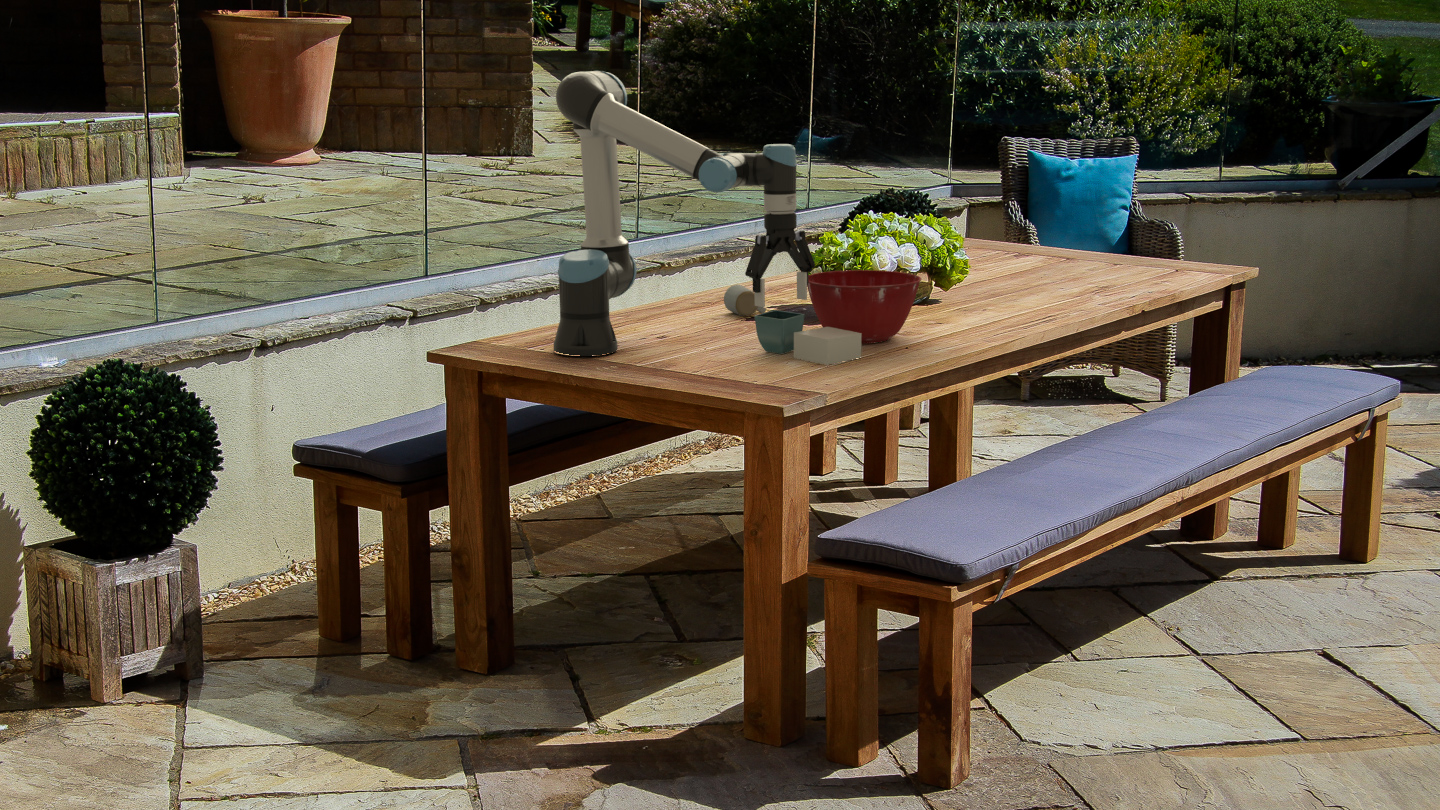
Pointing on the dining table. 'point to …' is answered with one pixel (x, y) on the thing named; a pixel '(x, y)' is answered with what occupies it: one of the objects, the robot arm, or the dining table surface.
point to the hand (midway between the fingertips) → (781, 302)
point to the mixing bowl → (863, 301)
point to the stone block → (827, 345)
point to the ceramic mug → (741, 301)
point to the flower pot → (778, 330)
